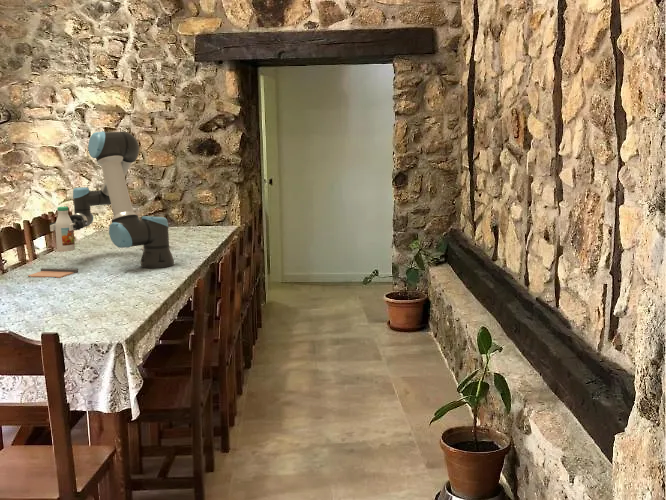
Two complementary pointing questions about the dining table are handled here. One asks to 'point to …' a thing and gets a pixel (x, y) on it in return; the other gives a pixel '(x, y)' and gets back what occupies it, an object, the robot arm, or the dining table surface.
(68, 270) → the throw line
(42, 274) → the tile
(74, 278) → the dining table surface
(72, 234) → the milk bottle
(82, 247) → the dining table surface
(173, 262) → the robot arm
